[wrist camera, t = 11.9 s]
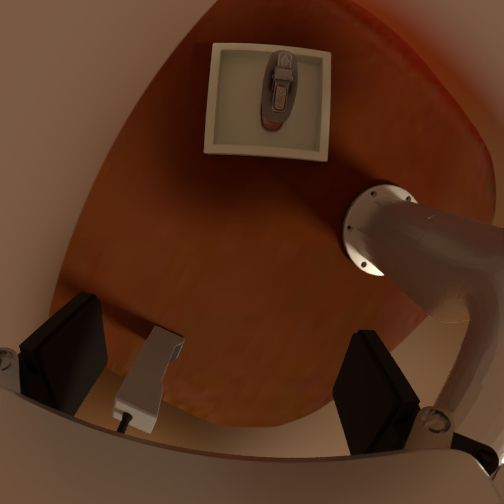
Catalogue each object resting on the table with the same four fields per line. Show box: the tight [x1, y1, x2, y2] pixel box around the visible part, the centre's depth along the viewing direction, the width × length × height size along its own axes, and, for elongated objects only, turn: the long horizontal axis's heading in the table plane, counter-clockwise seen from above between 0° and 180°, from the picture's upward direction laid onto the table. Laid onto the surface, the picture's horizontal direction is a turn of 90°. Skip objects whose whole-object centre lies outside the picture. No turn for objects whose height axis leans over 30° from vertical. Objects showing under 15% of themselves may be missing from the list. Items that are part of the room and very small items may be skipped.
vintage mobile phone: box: [112, 325, 185, 434], centre depth 30 cm, size 4×5×25 cm
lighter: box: [260, 50, 298, 132], centre depth 27 cm, size 8×3×10 cm, turn 173°
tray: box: [204, 43, 331, 162], centre depth 31 cm, size 14×14×4 cm
